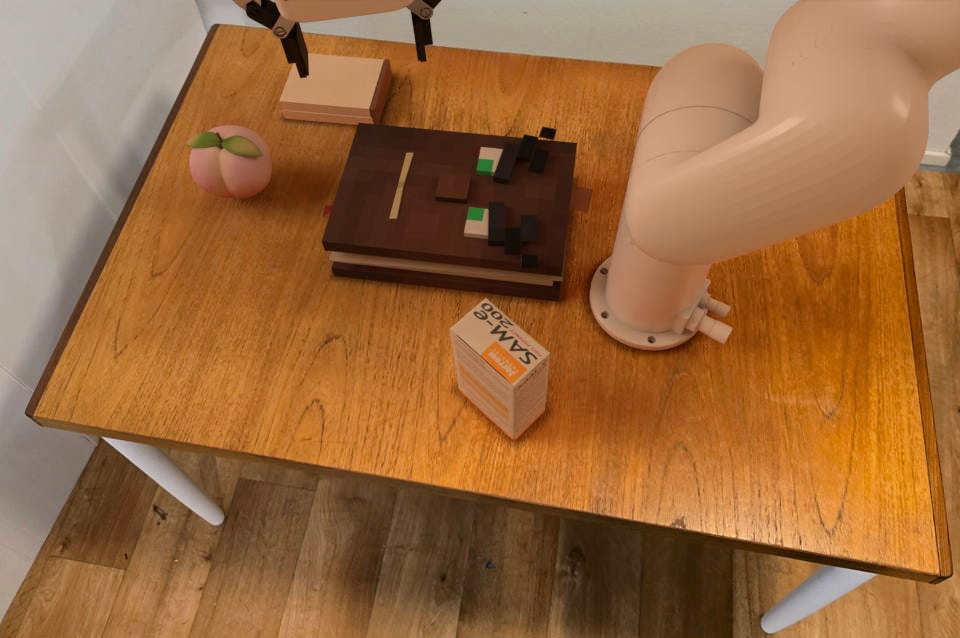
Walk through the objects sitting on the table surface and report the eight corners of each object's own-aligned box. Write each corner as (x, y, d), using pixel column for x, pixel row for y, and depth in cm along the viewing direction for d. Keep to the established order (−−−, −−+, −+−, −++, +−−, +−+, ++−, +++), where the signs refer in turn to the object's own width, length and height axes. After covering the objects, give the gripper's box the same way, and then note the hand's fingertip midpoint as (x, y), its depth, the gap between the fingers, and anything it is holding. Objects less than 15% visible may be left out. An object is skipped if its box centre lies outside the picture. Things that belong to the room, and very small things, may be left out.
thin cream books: (392, 77, 99) (389, 59, 96) (378, 127, 94) (374, 109, 92) (303, 69, 100) (297, 51, 97) (285, 118, 96) (278, 101, 93)
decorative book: (339, 107, 86) (600, 131, 83) (351, 152, 93) (593, 176, 90) (294, 243, 77) (586, 275, 74) (311, 282, 83) (579, 313, 80)
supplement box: (547, 411, 75) (554, 352, 63) (513, 443, 73) (515, 389, 62) (489, 359, 78) (486, 294, 67) (456, 389, 76) (447, 328, 65)
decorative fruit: (290, 164, 92) (267, 104, 83) (276, 217, 88) (251, 160, 79) (215, 162, 92) (185, 102, 84) (199, 215, 88) (165, 158, 80)
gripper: (169, -109, 44) (257, 105, 59) (458, -145, 45) (473, 76, 60) (177, -176, 48) (258, 41, 63) (444, -209, 48) (461, 14, 63)
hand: (362, 58), depth 61 cm, fingers open, 9 cm apart
